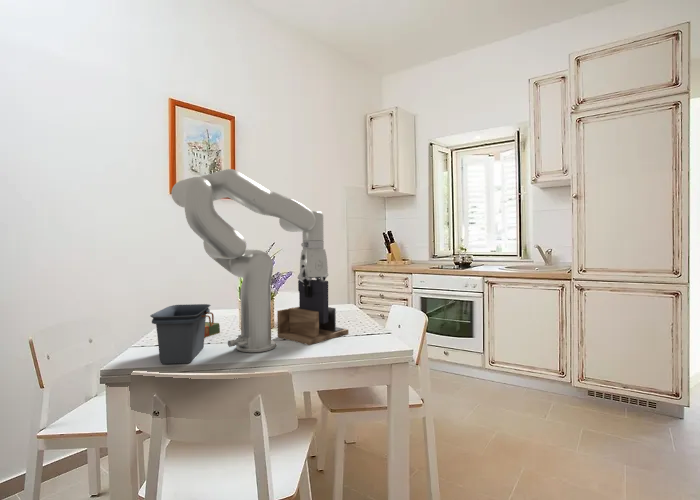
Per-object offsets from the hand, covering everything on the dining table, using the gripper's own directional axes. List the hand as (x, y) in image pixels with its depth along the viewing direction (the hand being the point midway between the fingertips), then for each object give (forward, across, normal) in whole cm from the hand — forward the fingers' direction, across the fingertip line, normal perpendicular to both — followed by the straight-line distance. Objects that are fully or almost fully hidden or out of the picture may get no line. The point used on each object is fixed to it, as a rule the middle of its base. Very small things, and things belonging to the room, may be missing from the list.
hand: (313, 295), depth 150 cm
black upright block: (+10, 0, 0) cm, 10 cm away
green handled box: (+15, -28, +32) cm, 45 cm away
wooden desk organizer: (+14, 0, 0) cm, 14 cm away
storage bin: (+15, -42, +12) cm, 46 cm away
